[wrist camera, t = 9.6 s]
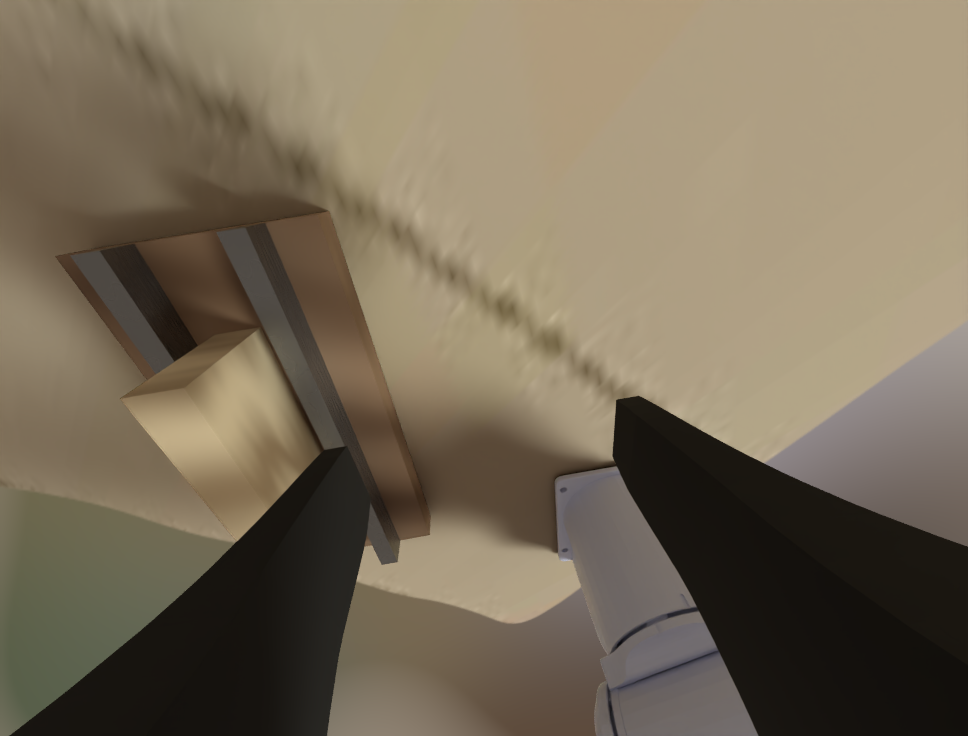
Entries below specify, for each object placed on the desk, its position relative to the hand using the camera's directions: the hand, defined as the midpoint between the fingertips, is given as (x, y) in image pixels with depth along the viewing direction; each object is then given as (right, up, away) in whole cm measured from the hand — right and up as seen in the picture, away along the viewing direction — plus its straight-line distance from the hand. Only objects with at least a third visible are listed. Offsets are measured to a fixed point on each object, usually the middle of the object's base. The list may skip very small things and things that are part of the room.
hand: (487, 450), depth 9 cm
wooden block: (-10, 0, +8) cm, 13 cm away
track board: (-10, -1, +10) cm, 14 cm away
